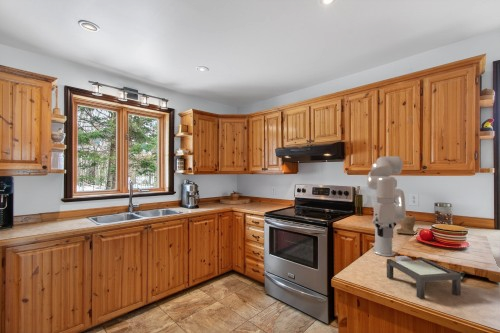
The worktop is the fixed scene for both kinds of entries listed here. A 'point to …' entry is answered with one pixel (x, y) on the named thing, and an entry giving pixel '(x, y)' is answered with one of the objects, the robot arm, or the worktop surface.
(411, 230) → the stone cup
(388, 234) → the grey cube
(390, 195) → the robot arm
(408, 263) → the trapdoor
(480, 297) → the worktop surface
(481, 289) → the worktop surface
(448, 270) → the frame
